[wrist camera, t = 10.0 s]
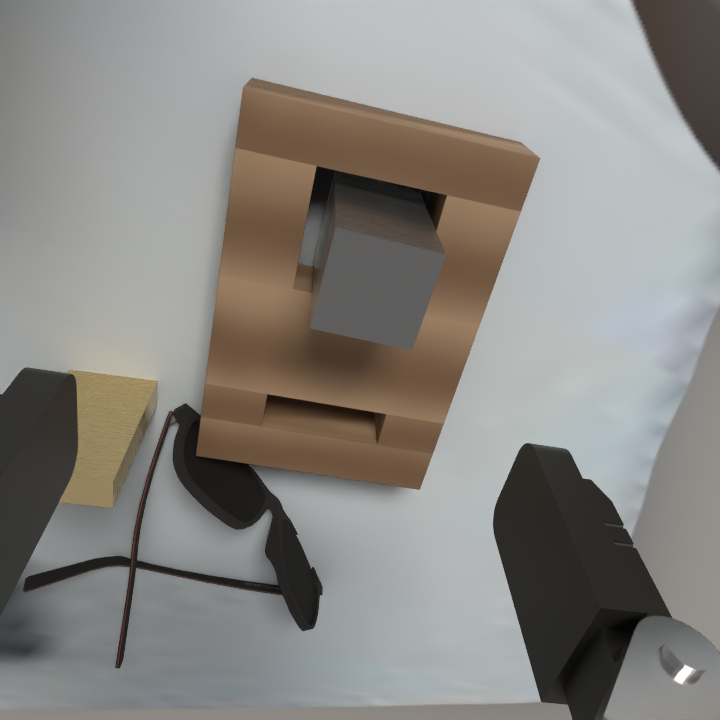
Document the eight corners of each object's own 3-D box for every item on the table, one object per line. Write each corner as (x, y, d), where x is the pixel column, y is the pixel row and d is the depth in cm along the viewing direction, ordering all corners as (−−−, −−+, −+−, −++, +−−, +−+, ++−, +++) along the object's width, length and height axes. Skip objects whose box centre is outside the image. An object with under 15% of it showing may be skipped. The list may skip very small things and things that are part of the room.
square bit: (334, 169, 29) (335, 227, 22) (419, 191, 29) (446, 254, 22) (315, 251, 30) (309, 328, 24) (394, 270, 31) (412, 350, 24)
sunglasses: (-6, 479, 37) (-50, 544, 33) (206, 389, 35) (188, 446, 30) (157, 641, 45) (138, 710, 41) (339, 578, 43) (340, 644, 38)
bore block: (251, 77, 26) (243, 87, 24) (521, 142, 28) (540, 158, 26) (206, 421, 35) (195, 455, 33) (413, 454, 37) (419, 489, 34)
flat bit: (69, 370, 33) (1, 469, 26) (157, 381, 34) (112, 481, 27) (71, 393, 34) (4, 496, 27) (156, 404, 35) (113, 507, 28)
